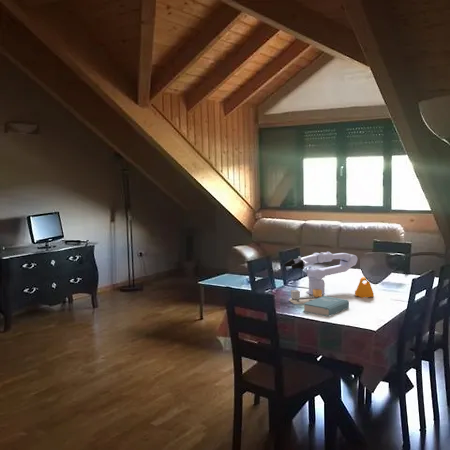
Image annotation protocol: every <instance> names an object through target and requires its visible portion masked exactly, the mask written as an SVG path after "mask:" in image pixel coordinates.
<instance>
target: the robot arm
mask: <svg viewBox="0 0 450 450" xmlns="http://www.w3.org/2000/svg"><path fill="white" fill-rule="evenodd" d="M297 257H298V258H295V259H294V257H293V258H292V257H291V258H290V259H289V260H288V261H286V262H285V263H284V267H285V268H288V267H289V268H290V267H291V269H293V270H294V269H301V270H304V268H305V267H308V266H311V265H314V264H317V263H318V264H319V263H320V264H323V263H327V262H332V261H333V260H340V261H339V264H337V265H331V266H325V267H322V268H320V267H319V268H313V267H310V268H308V269H307V270H306V275H307V277H308V291H306V293H307V294H308V295H311V296H313V289H321V290H322V295H326V293H325V284H326V283H325V279H324V278H326V276H330V275H331V276H332V275H336V274H341V273H345V272H347V271H349V270H350V269H351V268H352V267H354V266H356V265H357V263H358V260H359V259H358V256H357V255H355V254H352V253H347V252H338V253H332V252H330V251H326V252H322V251H321V252H320V253H319V252H313V253H312V254H310V255H306V256H303V257H301V255H299V256H297Z"/></svg>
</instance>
